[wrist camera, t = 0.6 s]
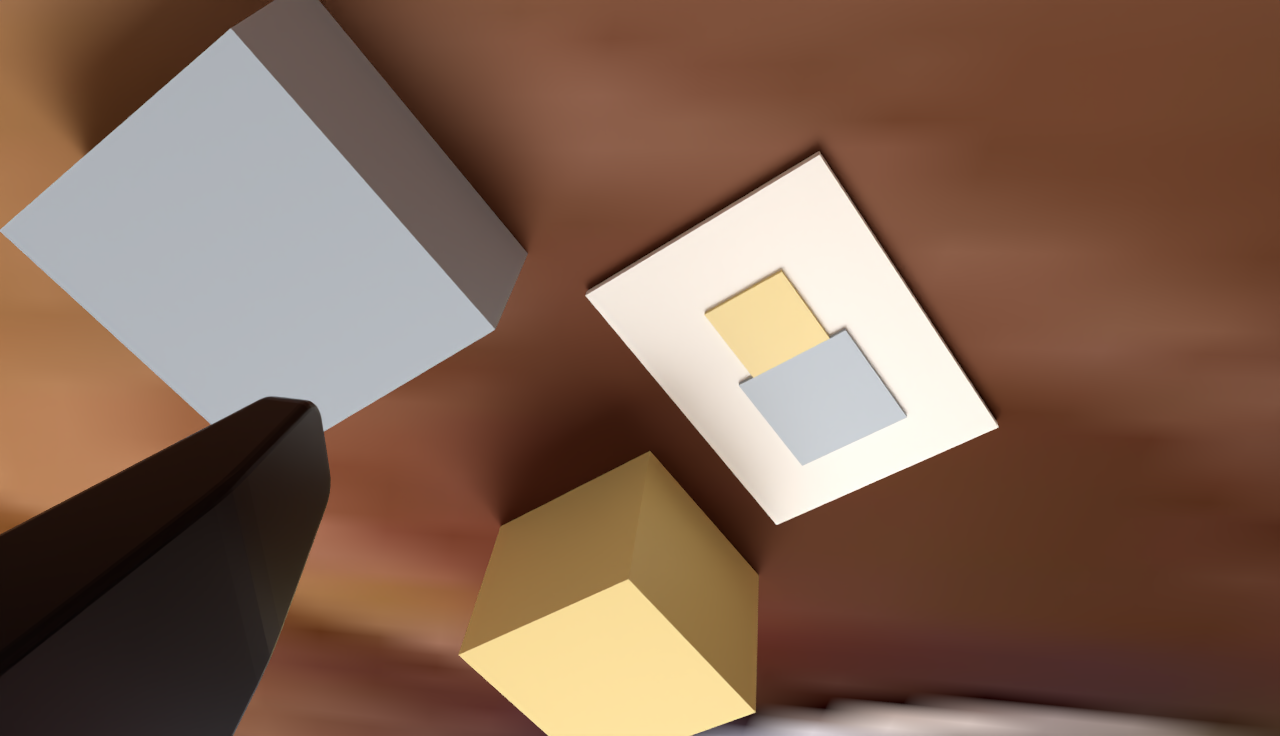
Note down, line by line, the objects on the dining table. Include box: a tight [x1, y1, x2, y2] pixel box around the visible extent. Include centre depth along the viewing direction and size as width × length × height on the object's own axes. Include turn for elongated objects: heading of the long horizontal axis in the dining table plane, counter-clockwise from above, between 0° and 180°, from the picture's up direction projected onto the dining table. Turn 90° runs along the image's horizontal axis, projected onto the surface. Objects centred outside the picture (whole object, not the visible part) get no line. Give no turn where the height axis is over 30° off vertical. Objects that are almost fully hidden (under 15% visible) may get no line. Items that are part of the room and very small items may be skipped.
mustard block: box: [459, 451, 759, 736], centre depth 25 cm, size 5×5×4 cm
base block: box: [0, 0, 528, 431], centre depth 21 cm, size 7×7×4 cm
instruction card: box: [586, 151, 998, 525], centre depth 23 cm, size 8×6×1 cm
